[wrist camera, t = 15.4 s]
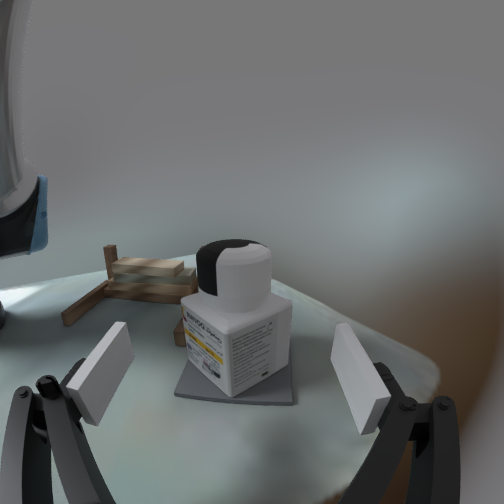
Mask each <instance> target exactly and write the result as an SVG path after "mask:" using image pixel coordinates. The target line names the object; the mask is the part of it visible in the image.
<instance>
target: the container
mask: <svg viewBox="0 0 504 504" xmlns="http://www.w3.org/2000/svg"><path fill="white" fill-rule="evenodd" d="M271 255H272V254H271V252H270V250H269V249H268V248H267V247H266V246H264V245H262V244H260V243H258V242H255V241H251V240H242V239H230V240H221V241H216V242H212V243H210V244H208V245H206V246H204V247H202V248H201V249H200V250H199V251H198V252H197V254H196V262H197V276H198V289H199V293H196V294H192V295H189V296H185V297H183V298H182V299H181V309H182V316H183V324H184V331H185V338H186V345H187V351H188V357H189V360H190V361H191V362H192V363H193V364H194V365H195V366H196V367H197V368H198V369H199V370H200V371H201V372H202V373H203V374H205V375H206V376H207V377H208V378H209V379H210V380H211V381H212V382H213V383H214V384H215V385H216V386H218V387H219V388H220V389H221V390H222V391H223V392H224V393H225V394H227V395H228V396H229V397H234V396H236V395H238V394H240V393H241V392H243V391H245V390H247V389H248V388H250V387H252V386H254V385H255V384H257V383H259V382H260V381H262V380H264V379H265V378H267V377H269V376H270V375H272V374H274V373H275V372H277V371H279V370H280V369H282V368H283V367H285V366H286V365H287V364H288V357H289V345H290V333H291V319H292V302H291V301H289V300H287V299H285V298H282V297H280V296H278V295H275V294H273V293H271Z"/></svg>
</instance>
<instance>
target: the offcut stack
mask: <svg viewBox="0 0 504 504" xmlns="http://www.w3.org/2000/svg"><path fill="white" fill-rule="evenodd" d="M111 265H112V271H113V272H114V273H113V278H111V279H110V280H108V286H109V289H114V290H124V291H135V292H147V293H160V294H174V295H192V293H193V292H194V290H195V289H196V287H197V286H198V277H196V267H184V261H176V260H160V259H144V258H128V257H123V258H121V259H119V260H117V261H115V262H113V263H111Z"/></svg>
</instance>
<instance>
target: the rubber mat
mask: <svg viewBox="0 0 504 504" xmlns="http://www.w3.org/2000/svg"><path fill="white" fill-rule="evenodd" d="M174 395H175V396H178V397H185V398H191V399H199V400H207V401H216V402H226V403H238V404H254V405H292V402H293V400H292V380H291V363H290V347H289V357H288V364H287V365H286V366H285V367H283V368H282V369H280V370H279V371H277V372H275V373H274V374H272V375H270V376H269V377H267V378H265V379H264V380H262V381H260V382H259V383H257V384H255V385H254V386H252V387H250V388H248V389H247V390H245V391H243V392H241V393H240V394H238V395H236V396H234V397H229V396H228V395H227V394H225V393H224V392H223V391H222V390H221V389H220V388H219V387H218V386H216V385H215V384H214V383H213V382H212V381H211V380H210V379H209V378H208V377H207V376H206V375H205V374H203V373H202V372H201V371H200V370H199V369H198V368H197V367H196V366H195V365H194V364H193V363H192V362H191V361H190V360H188V362H187V364H186V366H185V369H184V371H183V373H182V375H181V378H180V380H179V382H178V384H177V387H176V389H175V391H174Z"/></svg>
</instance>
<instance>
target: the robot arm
mask: <svg viewBox="0 0 504 504" xmlns="http://www.w3.org/2000/svg"><path fill="white" fill-rule="evenodd" d="M33 2H34V0H0V260H2V259H7V258H12V257H17V256H21V255H30V254H31V253H33V252H36V251H40V250H43V249H44V248H45V247H46V246H47V243H48V228H47V227H48V226H47V181H48V180H47V177H46V176H41V175H38V176H37V172H36V168H35V166H34V165H33V164H32V163H31V162H30V161H29V160H27V159H25V154H24V144H23V133H22V109H21V94H22V92H21V91H22V89H21V88H22V71H23V58H24V50H25V42H26V36H27V30H28V24H29V19H30V15H31V10H32V6H33ZM5 320H6V314H5V311H4V308H3V305H2V303H1V301H0V328H1V327H2V326H3V324H4V322H5ZM134 357H135V355H134V352H133V348H132V344H131V340H130V336H129V332H128V328H127V324H126V322H117V321H116V322H115V323H114V325H113V326H112V327H111V328H110V329H109V331H108V332H107V333H106V334H105V336H104V337H103V338H102V340H101V341H100V342H99V343H98V345H97V346H96V347H95V348H94V350H93V351H92V352H91V354H90V355H89V356H88V357H87V359H85V358H82V359H81V360H79V361H78V362H76V363H75V365H74V366H73V367H72V369H71V370H70V371H69V373H68V374H67V375H66V376H65V378H64V379H63V380H62V382H61V383H60V384H58V382H57V380H56V378H55V377H54V376H51V375H45V376H43V377H41V378H40V379H38V381H37V382H36V387H37V389H38V391H39V392H40V394H35V393H33V391H32V389H31V388H30V387H28V386H22V387H19V388H18V389H17V390H16V391H15V393H14V396H13V400H12V404H11V408H10V412H9V416H8V421H7V426H6V431H5V437H4V443H3V450H2V458H1V468H0V504H54V503H53V493H52V477H51V448H52V452H53V456H54V460H55V463H56V467H57V470H58V473H59V477H60V480H61V483H62V486H63V488H64V491H65V494H66V497H67V499H68V502H69V504H116V503H115V501H114V499H113V497H112V495H111V493H110V492H109V490H108V488H107V486H106V484H105V482H104V479H103V477H102V475H101V473H100V471H99V469H98V466H97V464H96V462H95V459H94V457H93V454H92V452H91V449H90V447H89V444H88V442H87V439H86V436H85V433H84V430H83V427H82V424H81V423H80V421H79V420H80V418H81V417H83V419H84V421H85V422H86V423H88V424H91V425H94V426H98V425H99V423H100V421H101V419H102V417H103V415H104V413H105V411H106V409H107V407H108V405H109V403H110V401H111V399H112V397H113V396H114V394H115V392H116V390H117V388H118V386H119V384H120V382H121V381H122V379H123V377H124V375H125V373H126V372H127V370H128V368H129V366H130V364H131V363H132V361H133V359H134ZM330 359H331V362H332V364H333V367H334V369H335V372H336V374H337V377H338V379H339V382H340V384H341V387H342V389H343V392H344V394H345V397H346V399H347V402H348V404H349V407H350V410H351V412H352V415H353V417H354V420H355V423H356V425H357V428H358V431H359V433H360V435H364V434H369V433H373V432H375V430H376V428H377V426H378V427H379V429H380V432H379V434H378V436H377V438H376V440H375V442H374V444H373V446H372V448H371V450H370V451H369V453H368V455H367V457H366V459H365V460H364V462H363V464H362V466H361V467H360V469H359V471H358V472H357V474H356V475H355V477H354V479H353V480H352V482H351V483H350V485H349V486H348V488H347V489H346V491H345V492H344V494H343V495H342V497H341V498H340V500H339V501H338V502H337V504H379V502H380V500H381V498H382V497H383V494H384V493H385V491H386V489H387V487H388V485H389V483H390V481H391V479H392V477H393V474H394V473H395V470H396V468H397V466H398V464H399V462H400V459H401V457H402V454H403V452H404V450H405V447H406V444H407V442H408V441H413V450H412V462H411V470H410V478H409V485H408V491H407V497H406V503H405V504H459V501H460V447H459V434H458V424H457V416H456V408H455V404H454V401H453V400H452V399H451V398H449V397H447V396H438V397H436V398H435V399H434V400H433V402H432V403H426V404H420V403H418V402H417V401H416V400H415V399H413V398H411V397H407V396H405V394H404V393H403V391H402V389H401V388H400V386H399V384H398V383H397V381H396V380H395V379H394V377H393V375H392V374H391V372H390V370H389V369H388V367H387V366H385V365H384V364H383V363H381V362H379V363H373V364H372V362H371V360H370V359H369V357H368V355H367V353H366V352H365V350H364V348H363V347H362V345H361V344H360V342H359V340H358V339H357V337H356V335H355V334H354V332H353V330H352V329H351V327H350V326H349V324H348V323H341V324H336V329H335V335H334V341H333V347H332V352H331V358H330Z"/></svg>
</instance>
